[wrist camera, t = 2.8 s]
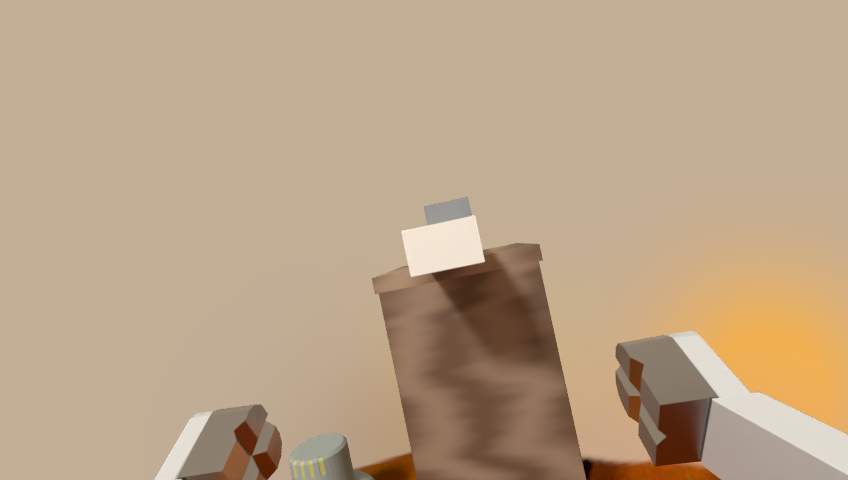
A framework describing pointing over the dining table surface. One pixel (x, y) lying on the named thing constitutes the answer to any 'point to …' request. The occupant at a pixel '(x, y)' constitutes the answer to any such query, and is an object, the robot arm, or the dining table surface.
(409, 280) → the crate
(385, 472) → the dining table surface
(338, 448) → the air freshener
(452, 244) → the cream rectangular block
